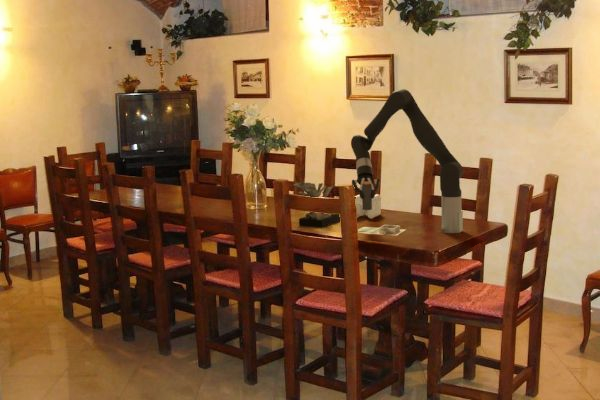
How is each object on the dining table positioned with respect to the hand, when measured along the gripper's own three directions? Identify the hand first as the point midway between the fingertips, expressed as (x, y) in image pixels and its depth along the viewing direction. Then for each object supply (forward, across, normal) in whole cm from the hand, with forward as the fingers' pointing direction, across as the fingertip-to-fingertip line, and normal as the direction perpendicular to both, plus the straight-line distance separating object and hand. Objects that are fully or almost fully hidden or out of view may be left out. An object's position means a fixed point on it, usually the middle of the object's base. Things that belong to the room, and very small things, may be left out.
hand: (367, 197), depth 354 cm
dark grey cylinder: (+3, 0, +6) cm, 6 cm away
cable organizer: (-17, +5, +42) cm, 46 cm away
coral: (-9, -24, +34) cm, 43 cm away
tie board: (+13, +5, +12) cm, 18 cm away
